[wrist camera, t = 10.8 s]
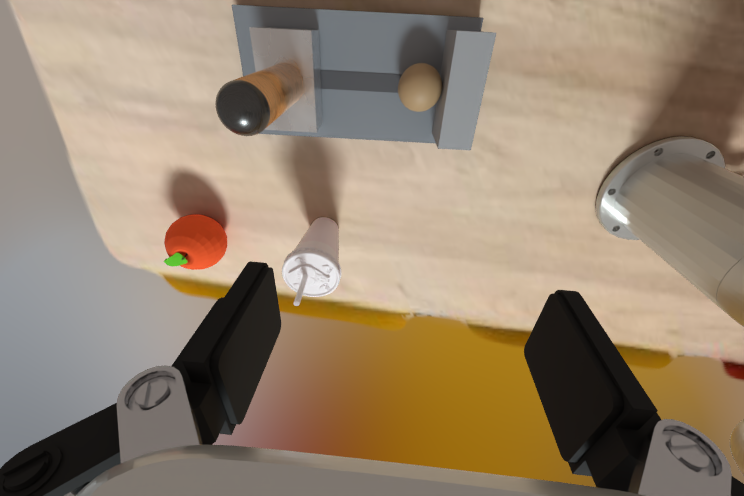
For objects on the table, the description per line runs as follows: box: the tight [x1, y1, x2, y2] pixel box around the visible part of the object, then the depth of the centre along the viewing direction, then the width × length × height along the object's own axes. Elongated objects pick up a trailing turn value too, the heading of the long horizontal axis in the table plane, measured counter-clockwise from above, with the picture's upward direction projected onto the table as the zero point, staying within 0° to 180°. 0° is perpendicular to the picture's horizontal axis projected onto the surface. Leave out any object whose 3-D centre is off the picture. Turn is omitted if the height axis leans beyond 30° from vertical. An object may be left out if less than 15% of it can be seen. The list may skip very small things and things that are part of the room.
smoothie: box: [282, 217, 341, 306], centre depth 37 cm, size 6×6×14 cm
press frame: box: [232, 5, 496, 150], centre depth 30 cm, size 22×11×6 cm, turn 88°
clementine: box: [164, 214, 227, 270], centre depth 41 cm, size 8×7×7 cm
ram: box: [216, 27, 323, 136], centre depth 25 cm, size 5×8×15 cm, turn 178°
